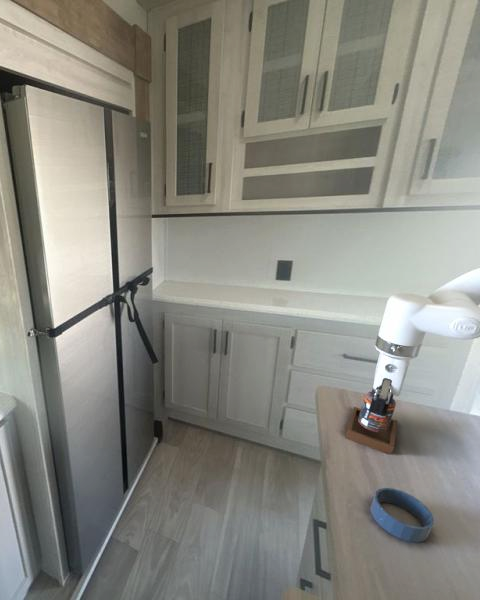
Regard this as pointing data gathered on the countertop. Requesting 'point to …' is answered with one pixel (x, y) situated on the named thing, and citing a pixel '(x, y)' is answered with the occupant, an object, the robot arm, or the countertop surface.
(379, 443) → the tray
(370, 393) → the supplement bottle
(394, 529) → the ring
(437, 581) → the countertop surface
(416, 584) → the countertop surface
